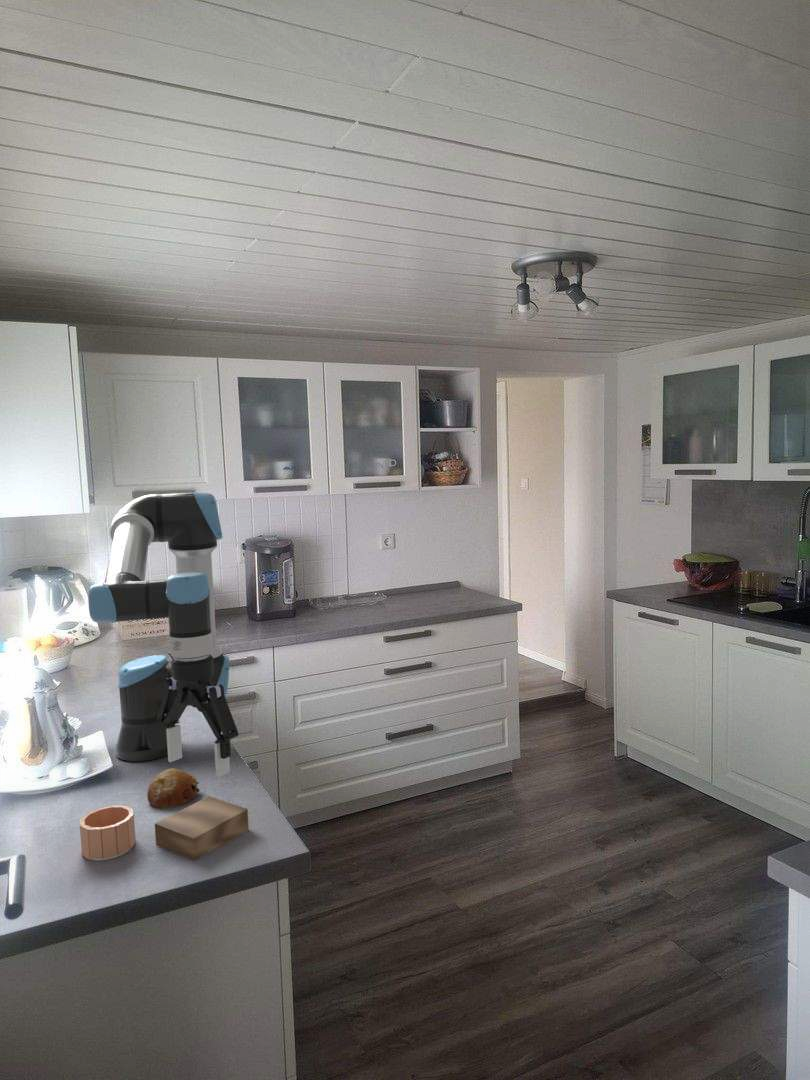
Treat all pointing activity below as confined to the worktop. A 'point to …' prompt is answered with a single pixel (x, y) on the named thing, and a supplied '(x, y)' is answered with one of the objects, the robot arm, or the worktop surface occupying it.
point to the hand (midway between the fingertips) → (198, 766)
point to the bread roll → (172, 789)
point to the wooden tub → (107, 832)
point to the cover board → (201, 827)
